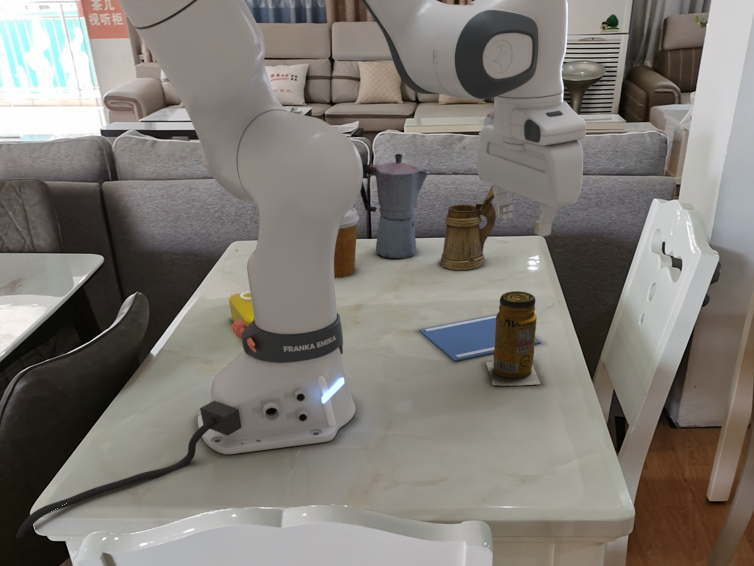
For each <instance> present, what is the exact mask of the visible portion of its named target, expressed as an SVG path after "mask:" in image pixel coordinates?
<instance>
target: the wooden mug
mask: <svg viewBox="0 0 754 566" xmlns="http://www.w3.org/2000/svg"><path fill="white" fill-rule="evenodd" d="M493 200H495V197H494V194H493V185H491V187H490V188H489V190H488V192H487V194H486V196H485V199H484V201H481V202H476V204H475V205H472V204H464V203H463V204H453V205H450V206H448V210H447V214H446V216H445V221H444V222H445V224H446V225H445V232H444V233H445V234H444V240H443V241H444V242H443V249H442V253H441V256H440V265H441V266H442V268H445V269H448V270H452V271H453V270H454V271H468V270H469V271H470V270H475V269H477V268H480V267H481V266H483V265H484V262H485V254H484V247H485V243H486V242H487V239H488V237H489V236H490V234H491V232H492V230H493V229H494V227H495V224H496V220H497V215H496V214H497V212H496V208H495V206H494V205H493V203H492V202H493ZM481 216H484V217H485V219H486V225H485V226H484V227H482V228H481V226H480V224H481V223H482V222H483V219H482V217H481Z"/></svg>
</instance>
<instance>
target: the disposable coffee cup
mask: <svg viewBox="0 0 754 566" xmlns="http://www.w3.org/2000/svg"><path fill="white" fill-rule="evenodd" d="M359 220H360V215H359V214H358V212H357V209H356V208H354V207H352V208H351V209H350V211H349V212H348V213H347V214H345V216H344V217H343V219H342V221H341V224H340V227H339V231H338V235H337V239H336V245H335V252H334V278H342V277H347V276H351V275H353V274H354V273H355V268H356V266H355V265H356V251H357V232H358V231H357V230H358V223H359Z"/></svg>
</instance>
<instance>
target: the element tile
mask: <svg viewBox="0 0 754 566" xmlns="http://www.w3.org/2000/svg"><path fill="white" fill-rule="evenodd" d="M228 303H229V309H230V316H231V321H232V322H233V323H234V322H235V321H236V320H242V321H244V322H245V323H246V325H247V326H248V325H249V324H250V323H251V322H252V321H253V319H254V314H253V307H252V300H251V293H250V290H249V291H244V292H240V293H235V294H234V293H233V294H231V295H230V296H229V298H228Z"/></svg>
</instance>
